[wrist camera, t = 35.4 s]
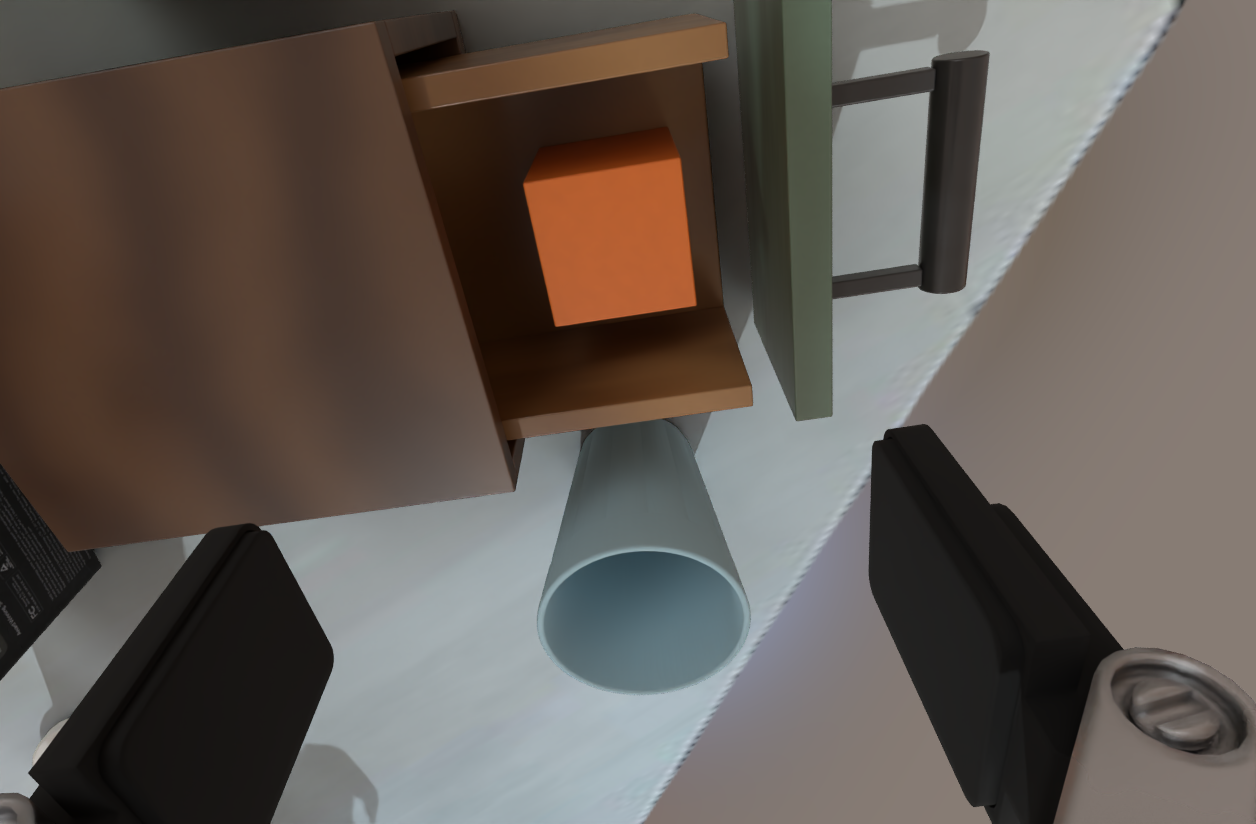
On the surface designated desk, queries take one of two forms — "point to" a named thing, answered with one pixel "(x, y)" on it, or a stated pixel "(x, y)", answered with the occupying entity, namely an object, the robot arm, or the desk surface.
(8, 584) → the graphics card box
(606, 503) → the cup
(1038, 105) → the desk surface
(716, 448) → the desk surface
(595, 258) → the plain orange cube
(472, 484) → the cabinet
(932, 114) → the two-tone handled box
